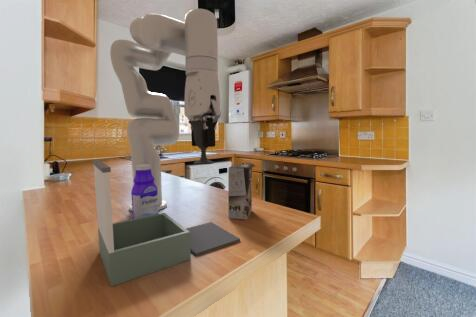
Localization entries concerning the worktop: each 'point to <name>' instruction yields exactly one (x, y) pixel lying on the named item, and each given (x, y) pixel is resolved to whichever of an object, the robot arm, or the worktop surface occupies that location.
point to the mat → (209, 238)
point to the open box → (135, 237)
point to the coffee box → (240, 191)
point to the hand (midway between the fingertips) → (203, 145)
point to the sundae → (200, 138)
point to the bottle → (144, 193)
